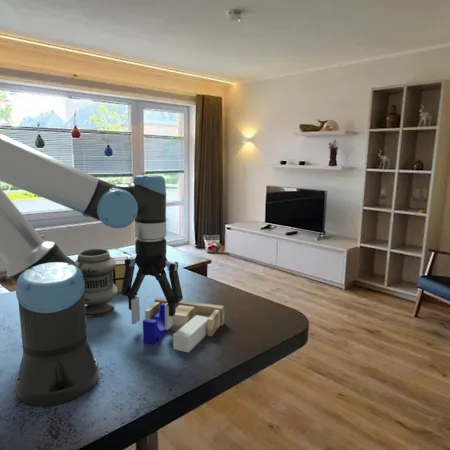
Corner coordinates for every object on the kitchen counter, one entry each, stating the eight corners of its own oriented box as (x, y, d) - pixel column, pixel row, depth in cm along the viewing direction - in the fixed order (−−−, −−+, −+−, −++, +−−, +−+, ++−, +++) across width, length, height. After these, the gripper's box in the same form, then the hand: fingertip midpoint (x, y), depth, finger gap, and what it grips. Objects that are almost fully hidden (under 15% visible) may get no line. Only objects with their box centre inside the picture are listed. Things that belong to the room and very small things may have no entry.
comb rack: (214, 336, 95) (214, 318, 94) (143, 325, 101) (142, 308, 100) (224, 323, 103) (224, 305, 102) (158, 313, 109) (157, 297, 108)
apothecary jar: (77, 322, 103) (72, 259, 100) (73, 306, 114) (69, 249, 111) (121, 314, 109) (119, 254, 105) (114, 300, 119) (111, 245, 116)
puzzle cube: (99, 285, 133) (98, 258, 131) (128, 282, 136) (127, 256, 134) (99, 295, 124) (97, 266, 122) (130, 292, 127) (129, 263, 125)
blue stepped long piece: (158, 322, 104) (157, 302, 102) (173, 324, 102) (172, 303, 101) (138, 343, 92) (137, 320, 91) (155, 345, 91) (154, 322, 90)
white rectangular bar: (188, 353, 88) (188, 337, 87) (173, 350, 89) (173, 334, 88) (210, 331, 99) (210, 317, 98) (196, 329, 100) (196, 315, 99)
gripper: (197, 238, 93) (196, 324, 97) (121, 232, 99) (123, 313, 103) (184, 245, 86) (184, 337, 90) (104, 237, 92) (107, 324, 96)
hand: (152, 324), depth 96 cm, fingers open, 9 cm apart
